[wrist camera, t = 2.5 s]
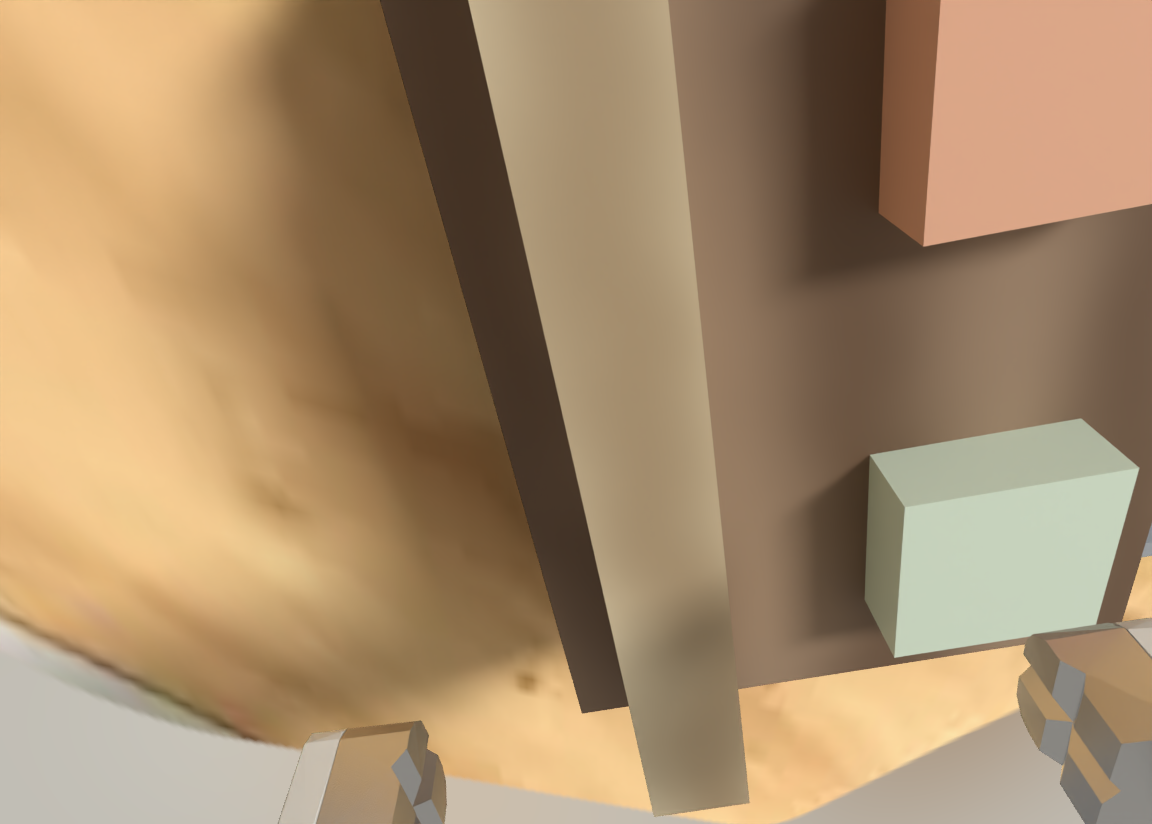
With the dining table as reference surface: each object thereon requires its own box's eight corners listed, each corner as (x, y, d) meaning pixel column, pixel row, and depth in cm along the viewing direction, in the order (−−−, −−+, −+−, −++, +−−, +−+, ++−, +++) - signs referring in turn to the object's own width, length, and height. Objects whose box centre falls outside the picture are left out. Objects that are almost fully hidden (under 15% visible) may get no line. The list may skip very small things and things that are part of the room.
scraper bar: (636, 683, 22) (654, 817, 18) (458, -145, 11) (424, -189, 8) (716, 670, 22) (749, 803, 18) (611, -180, 11) (643, -239, 8)
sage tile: (864, 599, 20) (894, 657, 19) (869, 454, 18) (905, 507, 16) (1048, 569, 20) (1095, 626, 18) (1080, 418, 18) (1139, 467, 16)
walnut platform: (573, 573, 28) (581, 713, 23) (390, -152, 16) (322, -202, 11) (1007, 500, 27) (1119, 629, 22) (1143, -322, 15) (1451, -464, 10)
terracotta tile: (878, 213, 15) (923, 246, 13) (889, -85, 12) (947, -92, 10) (1136, 164, 14) (1216, 191, 13) (1204, -152, 12) (1316, -170, 10)
